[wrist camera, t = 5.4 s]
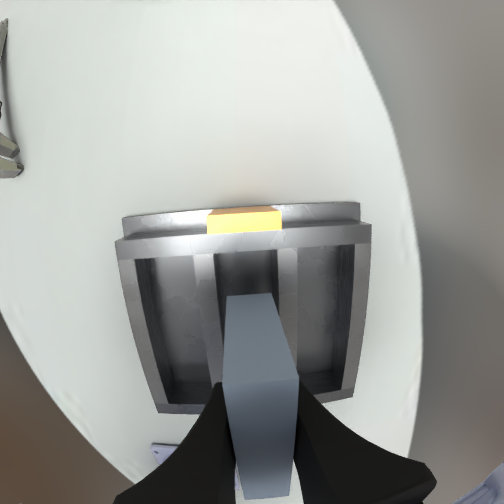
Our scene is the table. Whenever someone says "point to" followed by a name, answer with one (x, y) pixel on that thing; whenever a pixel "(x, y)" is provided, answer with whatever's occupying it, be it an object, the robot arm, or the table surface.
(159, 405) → the panel rack
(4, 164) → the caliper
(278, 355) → the panel
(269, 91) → the table surface
